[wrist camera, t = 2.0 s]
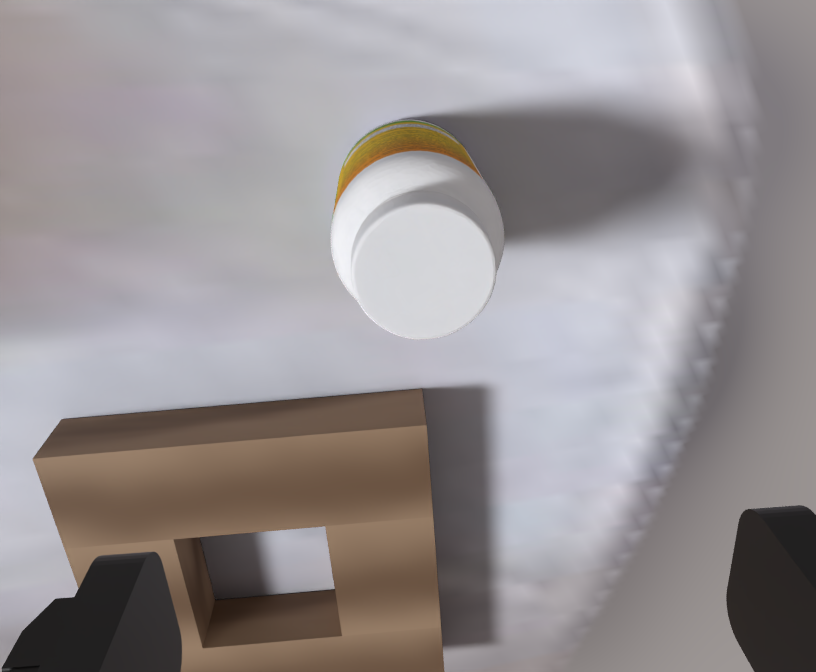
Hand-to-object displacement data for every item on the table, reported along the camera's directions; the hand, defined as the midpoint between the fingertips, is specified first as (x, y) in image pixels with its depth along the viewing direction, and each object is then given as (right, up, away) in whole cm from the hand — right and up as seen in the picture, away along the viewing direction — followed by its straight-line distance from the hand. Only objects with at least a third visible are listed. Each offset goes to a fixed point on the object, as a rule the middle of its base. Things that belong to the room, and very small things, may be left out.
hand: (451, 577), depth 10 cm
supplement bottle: (-1, +9, +18) cm, 21 cm away
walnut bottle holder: (-7, -7, +25) cm, 27 cm away
